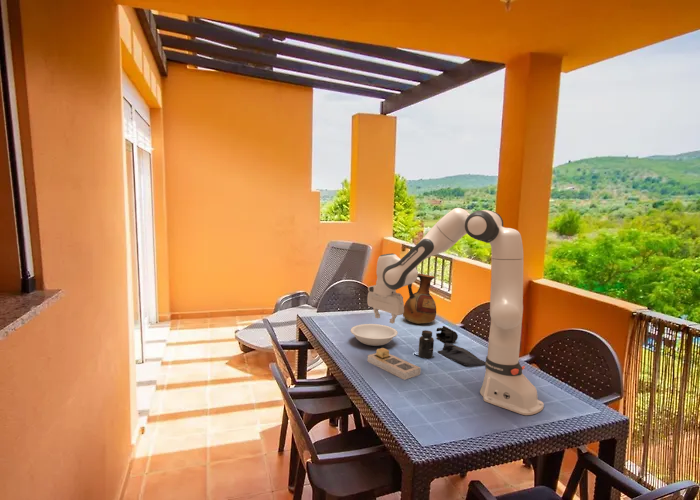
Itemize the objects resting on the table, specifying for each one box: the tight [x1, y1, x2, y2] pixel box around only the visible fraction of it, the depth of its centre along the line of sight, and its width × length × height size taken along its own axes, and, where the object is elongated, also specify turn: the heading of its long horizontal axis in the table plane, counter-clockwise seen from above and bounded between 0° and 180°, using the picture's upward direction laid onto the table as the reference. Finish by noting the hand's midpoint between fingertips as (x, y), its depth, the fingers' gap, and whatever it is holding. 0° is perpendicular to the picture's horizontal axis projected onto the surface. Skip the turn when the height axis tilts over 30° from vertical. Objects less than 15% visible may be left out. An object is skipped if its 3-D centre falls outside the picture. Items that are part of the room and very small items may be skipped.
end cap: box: [435, 325, 458, 344], centre depth 217 cm, size 10×7×7 cm
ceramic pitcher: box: [402, 272, 437, 325], centre depth 249 cm, size 20×20×30 cm
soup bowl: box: [350, 323, 398, 347], centre depth 208 cm, size 24×24×7 cm
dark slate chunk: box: [437, 343, 486, 366], centre depth 193 cm, size 15×22×5 cm
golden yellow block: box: [375, 347, 390, 359], centre depth 183 cm, size 4×4×6 cm
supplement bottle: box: [418, 329, 435, 359], centre depth 193 cm, size 7×7×12 cm
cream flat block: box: [367, 352, 422, 381], centre depth 178 cm, size 23×10×3 cm, turn 39°
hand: (384, 320), depth 181 cm, fingers open, 8 cm apart
